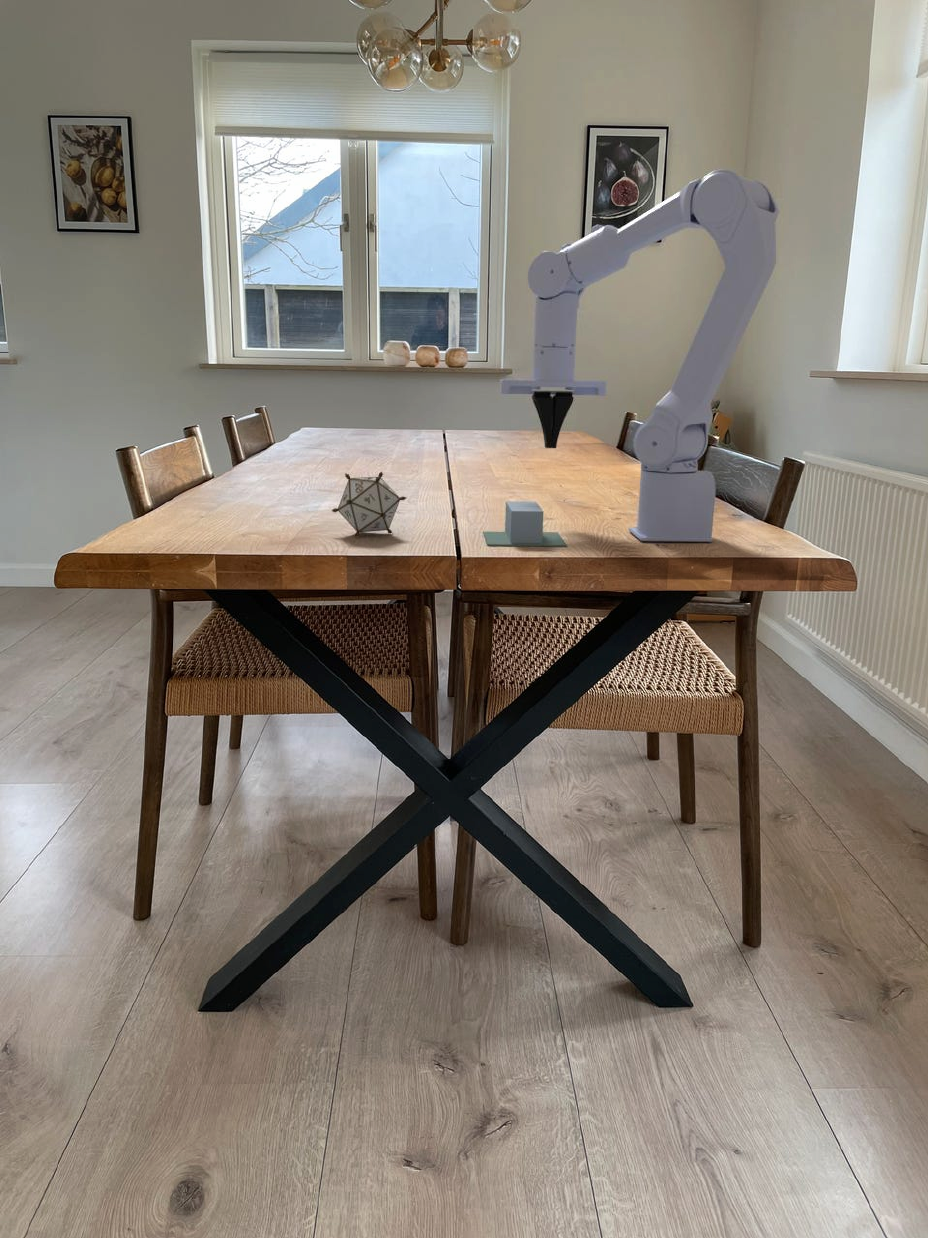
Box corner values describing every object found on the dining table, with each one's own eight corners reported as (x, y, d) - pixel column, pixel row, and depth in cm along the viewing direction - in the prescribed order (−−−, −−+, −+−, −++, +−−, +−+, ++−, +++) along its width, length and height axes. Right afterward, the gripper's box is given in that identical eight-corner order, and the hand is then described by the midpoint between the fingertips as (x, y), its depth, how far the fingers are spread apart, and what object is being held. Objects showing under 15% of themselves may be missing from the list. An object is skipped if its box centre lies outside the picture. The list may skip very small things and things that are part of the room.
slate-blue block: (535, 501, 125) (543, 511, 118) (534, 531, 127) (542, 543, 119) (505, 501, 125) (511, 511, 118) (505, 531, 126) (510, 542, 119)
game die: (381, 564, 123) (402, 510, 116) (319, 540, 122) (336, 484, 115) (397, 521, 130) (418, 467, 122) (339, 498, 129) (356, 443, 121)
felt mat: (557, 533, 126) (557, 532, 126) (567, 546, 118) (567, 544, 118) (482, 532, 126) (482, 531, 126) (487, 545, 117) (487, 544, 117)
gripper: (601, 348, 134) (596, 445, 138) (499, 346, 133) (497, 444, 137) (611, 348, 127) (605, 450, 131) (503, 346, 126) (501, 448, 130)
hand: (550, 447), depth 133 cm, fingers closed
